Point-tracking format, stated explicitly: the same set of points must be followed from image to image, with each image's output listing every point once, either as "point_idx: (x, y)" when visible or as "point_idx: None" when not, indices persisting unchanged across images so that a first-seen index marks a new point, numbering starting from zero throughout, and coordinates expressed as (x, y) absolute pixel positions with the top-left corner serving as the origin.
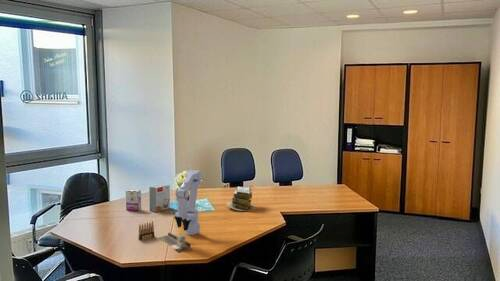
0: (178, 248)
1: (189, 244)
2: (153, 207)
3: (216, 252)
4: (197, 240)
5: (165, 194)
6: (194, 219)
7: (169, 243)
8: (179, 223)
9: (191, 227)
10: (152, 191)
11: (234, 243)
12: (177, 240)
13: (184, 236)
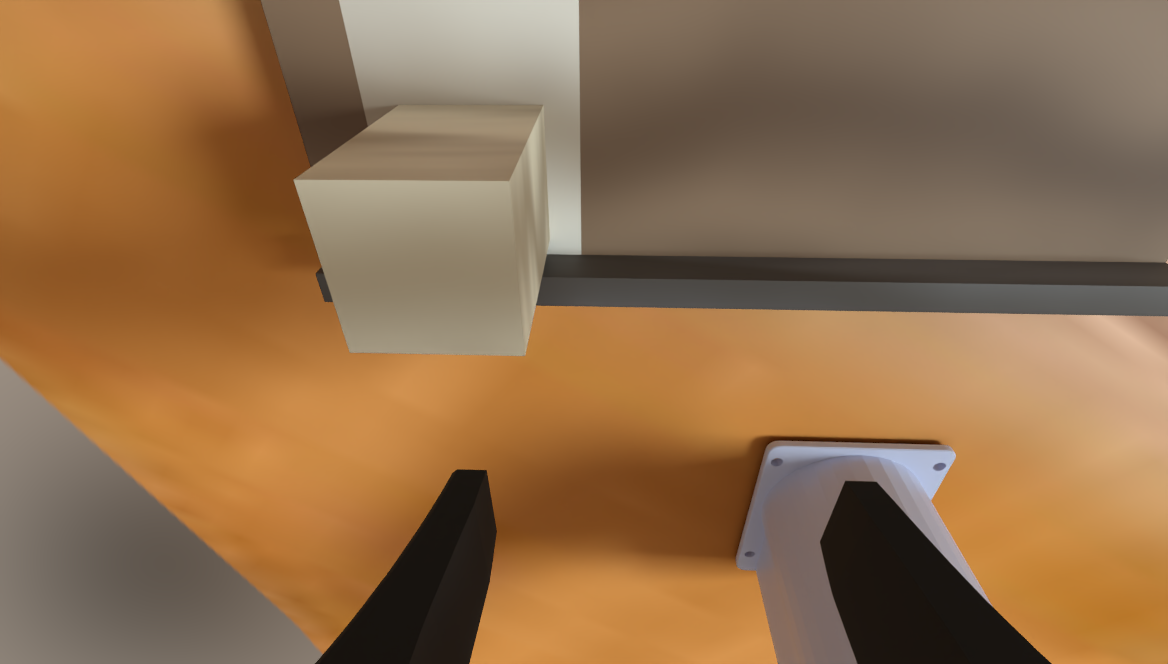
0: (322, 15)
1: (322, 277)
2: None
3: (88, 421)
4: (605, 467)
5: None
6: None
7: (749, 7)
8: (888, 635)
9: (812, 620)
10: None
11: (302, 617)
12: (495, 138)
13: (340, 317)
